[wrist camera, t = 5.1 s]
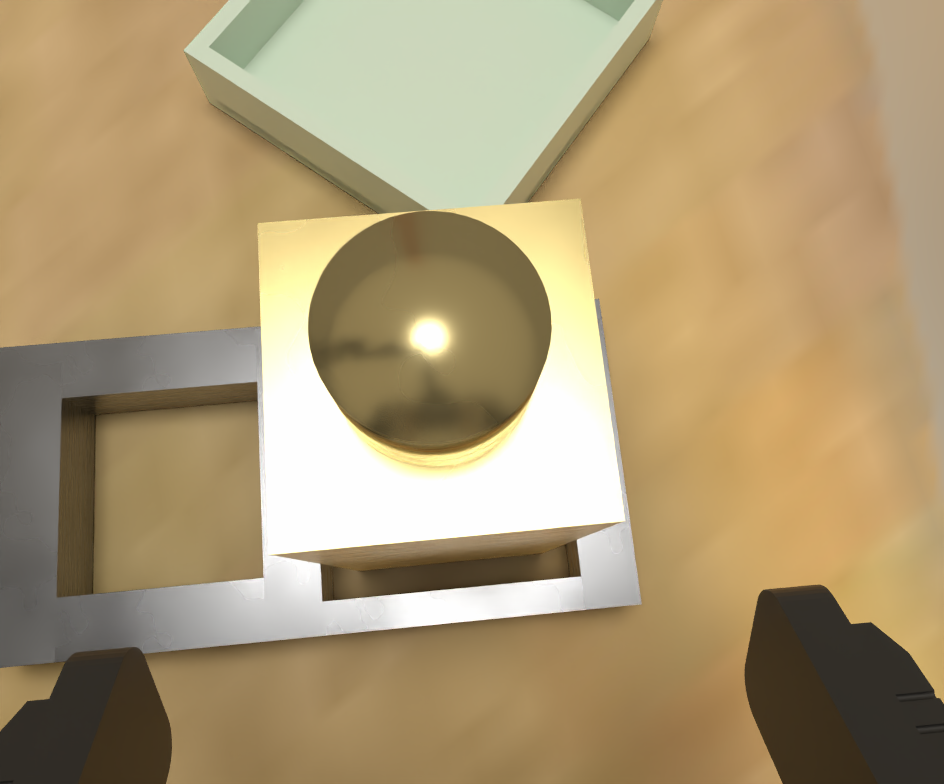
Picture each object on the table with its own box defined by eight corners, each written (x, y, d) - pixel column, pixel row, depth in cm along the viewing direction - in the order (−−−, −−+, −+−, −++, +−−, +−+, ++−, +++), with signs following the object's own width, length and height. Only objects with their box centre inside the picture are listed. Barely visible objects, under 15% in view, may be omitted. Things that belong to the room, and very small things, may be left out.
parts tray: (473, 275, 24) (476, 240, 21) (209, 102, 25) (183, 50, 23) (649, 38, 26) (669, -19, 24) (397, -112, 27) (392, -181, 25)
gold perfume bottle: (541, 553, 22) (660, 507, 9) (358, 570, 22) (229, 547, 9) (521, 377, 23) (604, 127, 11) (348, 392, 23) (220, 154, 10)
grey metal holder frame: (624, 602, 22) (641, 604, 20) (21, 662, 21) (-23, 670, 19) (586, 322, 24) (599, 298, 22) (31, 368, 23) (-8, 348, 21)
